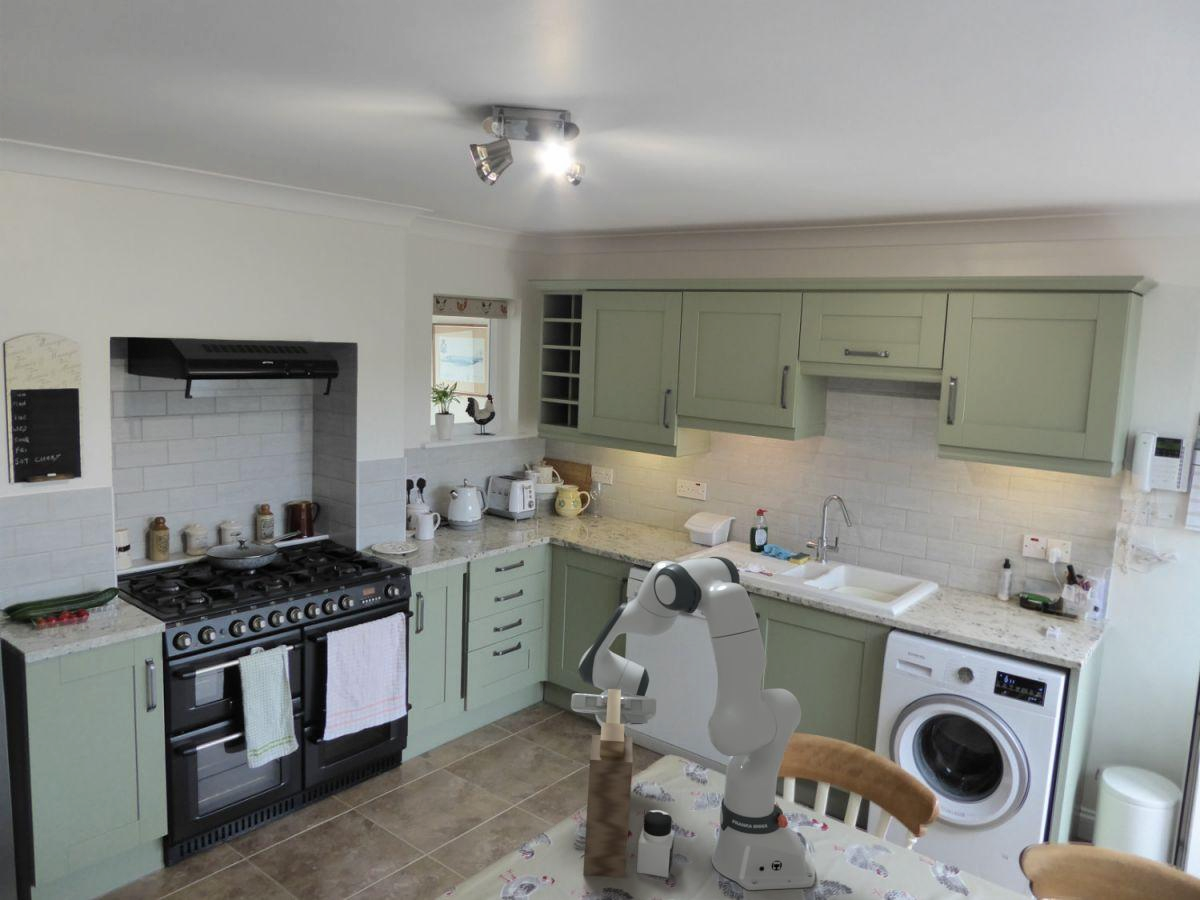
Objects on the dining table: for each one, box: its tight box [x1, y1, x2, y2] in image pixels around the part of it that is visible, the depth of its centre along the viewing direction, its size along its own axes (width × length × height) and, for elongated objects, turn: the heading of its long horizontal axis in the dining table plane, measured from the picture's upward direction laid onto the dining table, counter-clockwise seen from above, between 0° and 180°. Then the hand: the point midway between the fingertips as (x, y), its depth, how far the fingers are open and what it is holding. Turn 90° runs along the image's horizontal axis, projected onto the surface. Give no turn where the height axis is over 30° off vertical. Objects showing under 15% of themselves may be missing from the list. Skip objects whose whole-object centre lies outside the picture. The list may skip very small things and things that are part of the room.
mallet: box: [600, 689, 625, 757], centre depth 194 cm, size 5×20×4 cm, turn 178°
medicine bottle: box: [636, 809, 675, 879], centre depth 191 cm, size 7×7×12 cm
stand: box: [582, 734, 634, 878], centre depth 191 cm, size 9×12×26 cm
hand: (614, 700), depth 200 cm, fingers closed on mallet, 3 cm apart
